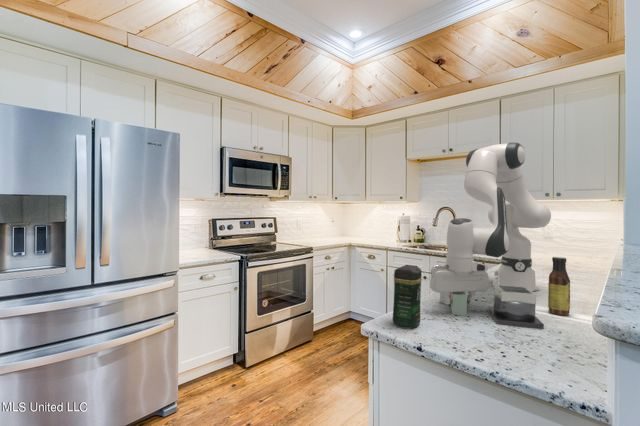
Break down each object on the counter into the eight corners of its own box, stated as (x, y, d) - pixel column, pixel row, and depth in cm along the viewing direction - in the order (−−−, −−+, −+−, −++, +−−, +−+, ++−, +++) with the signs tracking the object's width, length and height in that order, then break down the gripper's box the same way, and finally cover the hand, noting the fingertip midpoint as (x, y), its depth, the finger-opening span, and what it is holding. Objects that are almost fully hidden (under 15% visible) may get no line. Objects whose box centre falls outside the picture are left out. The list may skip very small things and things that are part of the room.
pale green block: (450, 309, 118) (451, 286, 118) (464, 310, 117) (464, 287, 117) (452, 314, 113) (452, 290, 113) (466, 315, 112) (467, 291, 111)
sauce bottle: (573, 317, 112) (575, 259, 111) (553, 315, 113) (555, 258, 112) (563, 310, 118) (565, 256, 117) (544, 309, 119) (545, 255, 119)
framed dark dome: (487, 310, 117) (488, 282, 117) (529, 314, 114) (529, 286, 113) (496, 324, 104) (497, 293, 104) (543, 329, 100) (544, 296, 100)
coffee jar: (415, 331, 97) (416, 269, 97) (389, 325, 101) (390, 266, 101) (423, 321, 106) (424, 264, 105) (399, 316, 110) (400, 262, 109)
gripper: (435, 266, 110) (434, 307, 111) (492, 266, 112) (491, 305, 113) (427, 263, 116) (426, 301, 117) (481, 262, 118) (480, 300, 119)
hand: (458, 303), depth 115 cm, fingers closed on pale green block, 6 cm apart
